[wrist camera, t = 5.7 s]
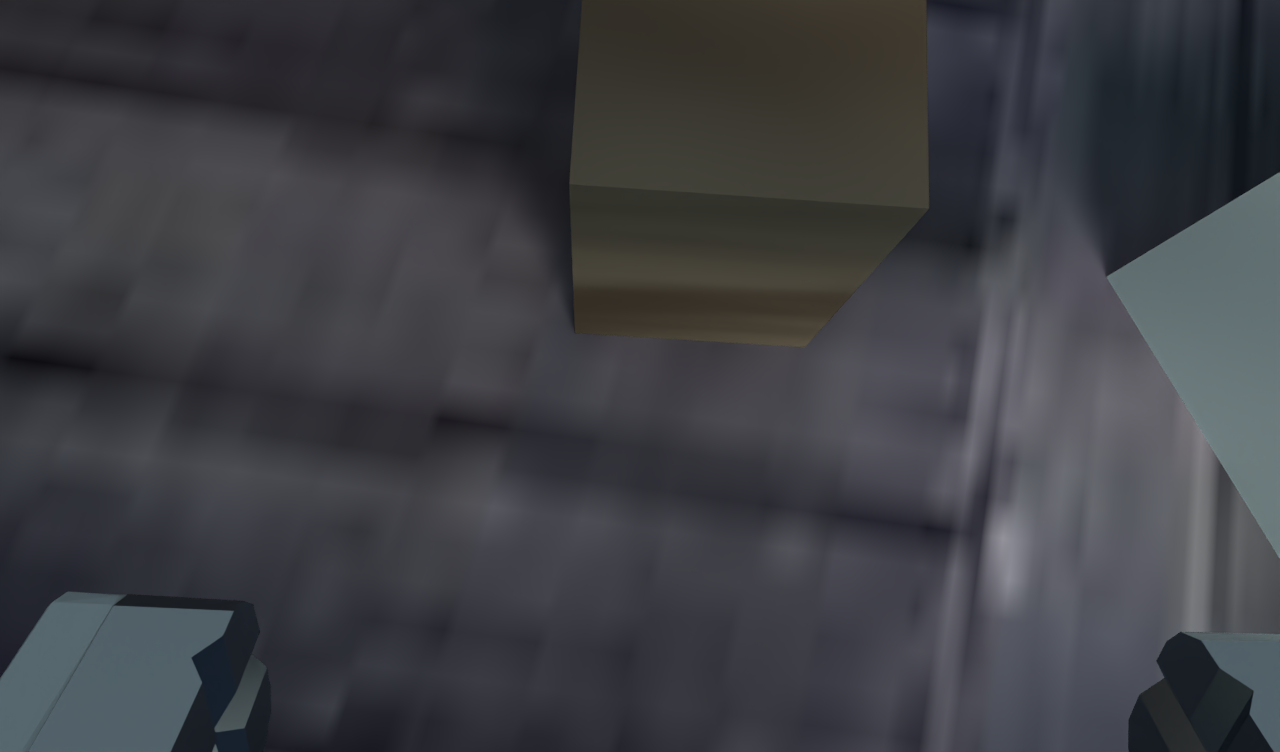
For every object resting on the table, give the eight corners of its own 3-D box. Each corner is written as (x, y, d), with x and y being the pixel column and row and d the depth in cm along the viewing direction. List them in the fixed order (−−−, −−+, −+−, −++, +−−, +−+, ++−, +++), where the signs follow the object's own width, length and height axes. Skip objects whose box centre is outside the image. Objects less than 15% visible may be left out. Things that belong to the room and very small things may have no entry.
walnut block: (805, 347, 22) (928, 209, 14) (574, 333, 21) (569, 183, 14) (807, 135, 23) (925, -105, 15) (588, 119, 22) (591, -132, 15)
